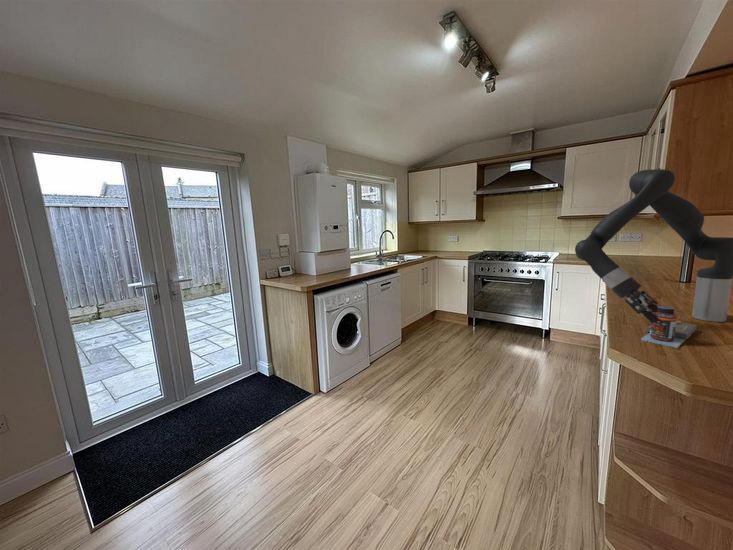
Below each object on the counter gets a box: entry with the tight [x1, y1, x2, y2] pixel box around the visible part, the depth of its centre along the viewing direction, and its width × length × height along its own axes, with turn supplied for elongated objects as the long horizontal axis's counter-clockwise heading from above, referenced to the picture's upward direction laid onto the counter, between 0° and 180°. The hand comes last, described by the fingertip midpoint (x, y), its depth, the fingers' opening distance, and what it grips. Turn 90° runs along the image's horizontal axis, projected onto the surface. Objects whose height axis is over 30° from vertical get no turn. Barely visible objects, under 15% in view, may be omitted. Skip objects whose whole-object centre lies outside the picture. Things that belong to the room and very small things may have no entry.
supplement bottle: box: [650, 305, 678, 341], centre depth 101 cm, size 6×6×11 cm
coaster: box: [640, 333, 686, 349], centre depth 101 cm, size 9×9×1 cm
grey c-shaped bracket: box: [646, 320, 697, 341], centre depth 110 cm, size 19×10×3 cm, turn 123°
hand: (659, 319), depth 101 cm, fingers open, 8 cm apart
